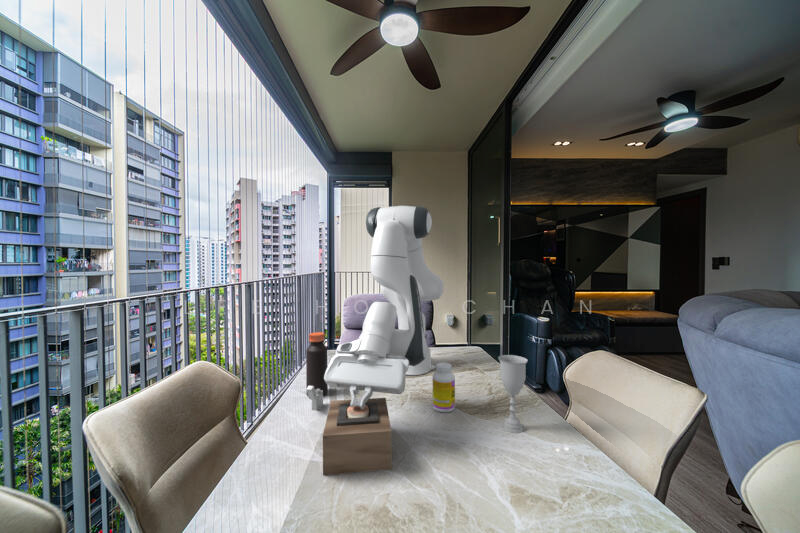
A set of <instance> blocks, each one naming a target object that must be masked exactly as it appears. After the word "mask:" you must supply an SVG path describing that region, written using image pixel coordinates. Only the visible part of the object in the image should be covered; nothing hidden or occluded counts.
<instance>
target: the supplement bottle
mask: <svg viewBox="0 0 800 533" xmlns="http://www.w3.org/2000/svg"><path fill="white" fill-rule="evenodd" d="M452 367H453V366H452V364H450V363H449V362H438V363H436V364H435V370H436V371H435V372H434V373H433V374H432V408H433V409H434V410H435V411H437V412H440V413H451V412H453V411H454V410H455V408H456V376H455V375H454V373H453V372H452Z"/></svg>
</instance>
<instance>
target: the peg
mask: <svg viewBox="0 0 800 533" xmlns="http://www.w3.org/2000/svg"><path fill="white" fill-rule="evenodd" d="M360 417H369V407H368V406H367V405H365V407H364V409H356V408H351V406H350V407H348V409H347V418H360Z"/></svg>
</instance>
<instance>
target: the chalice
mask: <svg viewBox="0 0 800 533" xmlns="http://www.w3.org/2000/svg"><path fill="white" fill-rule="evenodd" d="M497 358H498V361H499V376H500V380H501V383H502V385H503V387H504V390H505V392H506V394H509V395H510V400H509V405H510V407H509V408H508V409H509V411H510V415H509V416H507V417H506V418H505V419H504V422H503V424H502V428H503V430H505V431H506V432H509V433H513V434H520V433H522V432H523V431H524V428H523V424H522V423H521V420H520V419H519V418H518V417H517V416H516V413H515V412H516V411H517V408H516V403H517V401H516V396H518V395H519V394H520V392H521V391H522V389H523V387H524V384H525V381H526V378H527V376H526V374H527V372H526V370H527V368H526V366H527V365H526V364H527V363H528V359H527V358H526V357H523V356H519V355H514V354H503V355H499V356H498V357H497Z"/></svg>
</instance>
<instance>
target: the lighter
mask: <svg viewBox="0 0 800 533" xmlns="http://www.w3.org/2000/svg"><path fill="white" fill-rule="evenodd" d="M305 390H306V395H307V394H308V396H307V397H308V399H309V400H311V411H313V412H314V411H315V412H317V411H318V410H319V409H320V408H321V407H322V406H324V396H323V390H320V389H316V390H315V389H314V386H308V387H307V389H305Z"/></svg>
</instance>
